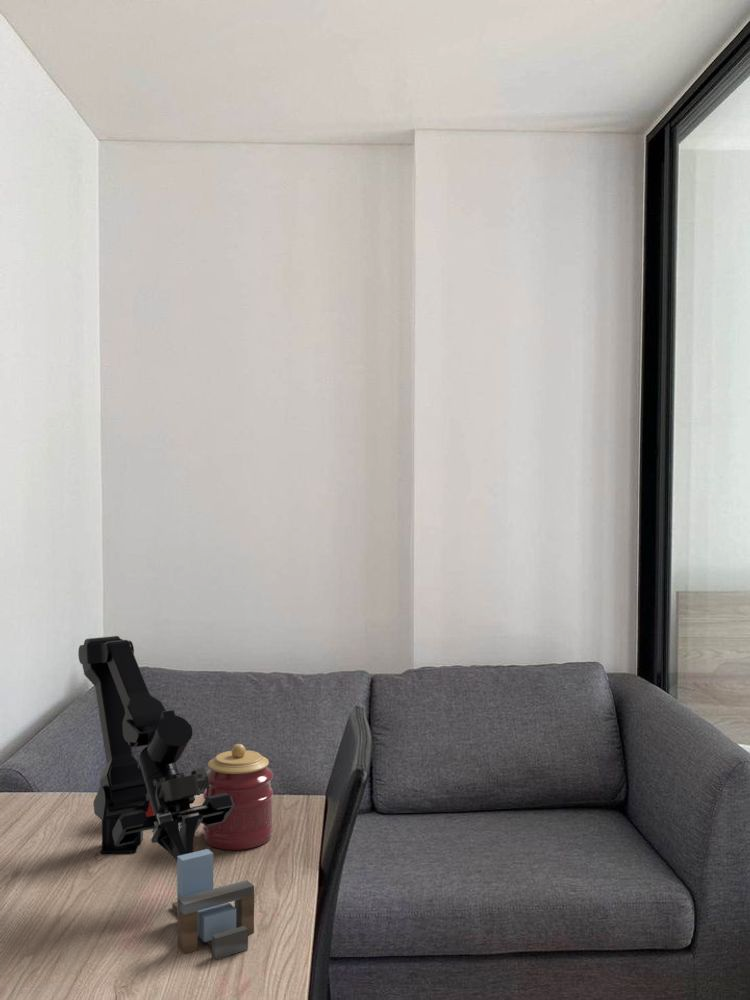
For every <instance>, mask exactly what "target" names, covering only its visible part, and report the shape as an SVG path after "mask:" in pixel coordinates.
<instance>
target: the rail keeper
mask: <svg viewBox="0 0 750 1000" xmlns="http://www.w3.org/2000/svg"><path fill="white" fill-rule="evenodd" d="M228 902H229V903H231V902H234V907H235V908H236V928H234V929H231V930H228V931H224V932H221V933H218V934H214V935H212V940H210V941H207V942H206V943H207V945H209V946H210V947H211V956H212V958H213V959H214V960H219V959H223V958H226V957H229V956H228V955H230V956H232V955H231V954H233V955H235V953H236V954H239V953H242V952H245V951H244V950H246V951H248V950H249V935H251V934H254V933H255V885H254V884H252V882H250V881H249V880H247V879H246V880H242V881H239V882H234V883H231V884H227V885H223V886H219V887H216V888H213V889H211V890H207V891H204V892H200V893H196V894H192V895H189V896H185V897H181V898H178V915H177V948H178V949H179V950H180V951H181V952H182V953H183V954H184V953H185V954H188V953H191V952H195V951H197V950H198V935H197V911H199V910H203V909H206V908H210V907H214V906H217V905H221V904H224V903H228ZM171 905H172V907H171V908H172V909H173V910H174V911H175V912H176V913H177V901H174V902H172V904H171ZM247 949H248V950H247ZM241 951H242V952H241ZM238 952H239V953H238Z"/></svg>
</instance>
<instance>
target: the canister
mask: <svg viewBox="0 0 750 1000" xmlns="http://www.w3.org/2000/svg"><path fill="white" fill-rule="evenodd" d="M269 764H270V761H269V759H268V758H267V757H265V756H263V755H262V754H261V753H260V752H258V751H254V750H250V749H249V750H247V749H246V747H245V746H244V744H241V743H236V744H234V745H233V746H232V748H231V750H228V751H224V752H223V751H222V752H221V753H218V754H217V755H216V756H215V757H214V758H212V759H211V760H209V761H208V762H207V766H208V768H209V770H206V772H207V775H208V778H209V787H208V788H206V789H204V792H203V796H202V797H203V800H204V801H205V799H206V798H207V796H212V795H217V794H222V793H227V794H229V795H230V796H231V797H232V799H233V802H234V805H235V806H234V808H233V810H232V811H231V813H230V814H229V816H228V817H227V819H226V820H225V821H224V822H222V823H219V824H215V825H210V826H206V825H204V824H202V829H203V830H202V832H203V833H202V834H203V836H204V841H205V843H206V844H207V845H209V846H211V847H213V848H216V849H221V850H229V851H240V850H248V849H253V848H257V847H260V846H262V845H264V844H266V843H267V842H269V841H270V840H271V838H272V836H273V831H274V822H273V795H274V789H273V788H272V786H271V780H272V779H273V778H274V772H273V771H272V770H271V769H270V768H269V767H268V765H269ZM204 801H203V802H204Z"/></svg>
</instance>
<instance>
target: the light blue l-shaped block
mask: <svg viewBox="0 0 750 1000" xmlns="http://www.w3.org/2000/svg"><path fill="white" fill-rule="evenodd" d="M176 863H177V864H176V865H177V866H176V867H177V868H176V869H177V871H176V873H177V875H176V878H177V880H176V887H177V888H176V889H177V890H176V893H177V894H176V896H177V897H176V898H177V900H176V902H177V912H176V914H177V916H178V898H181V897H185V896H189V895H192V894H196V893H200V892H204V891H207V890H211V889H214V852H213V851H211V850H210V849H209V848H205V849H202V850H197V851H193V853H188V854H184V855H180V856H177V861H176ZM234 928H236V908H235V906H234V905H232V903H231V902H228V903H224V904H221V905H217V906H214V907H210V908H206V909H203V910H199V911H197V937H198V938H200V940H201V941H202V942H204V943H207V941H210V940H212V935H214V934H218V933H221V932H224V931H228V930H231V929H234Z"/></svg>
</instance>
